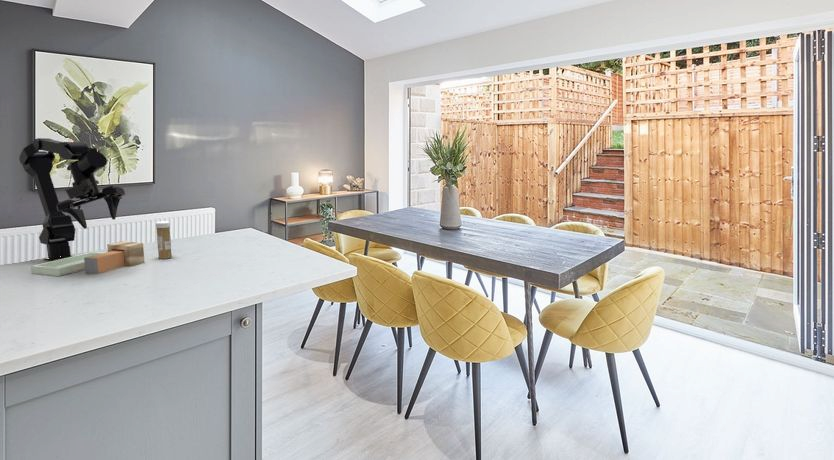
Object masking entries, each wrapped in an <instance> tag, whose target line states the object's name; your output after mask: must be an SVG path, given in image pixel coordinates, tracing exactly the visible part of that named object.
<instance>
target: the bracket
mask: <svg viewBox="0 0 834 460" xmlns="http://www.w3.org/2000/svg"><path fill="white" fill-rule="evenodd" d="M106 245H107V246H106V247H107V252H111V251H115V250H119V249H120V250H124V252H125V264H126V266H125V267H134V266H136V265H140V264H143V263H145V251H144V242H137V241H125V240H121V241H117V242H112V243H111V242H110V243H107V244H106Z"/></svg>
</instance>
